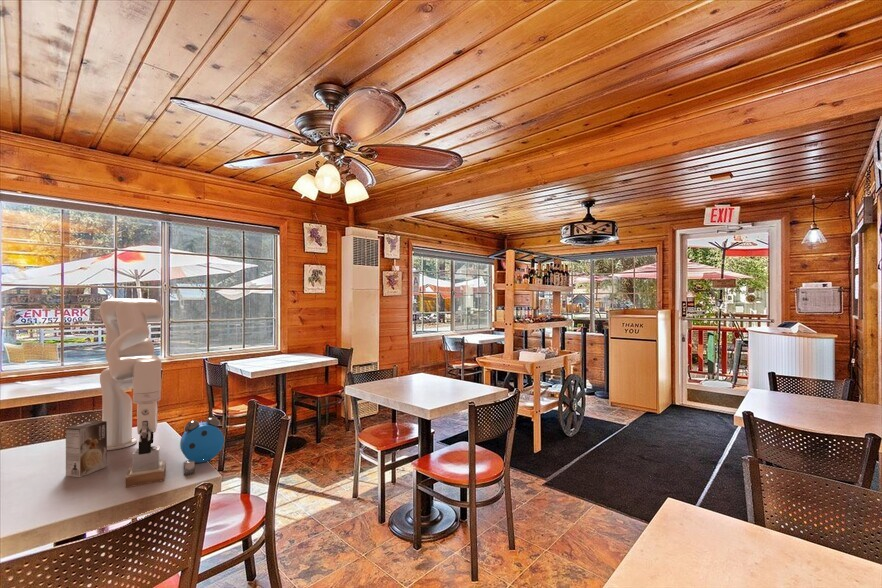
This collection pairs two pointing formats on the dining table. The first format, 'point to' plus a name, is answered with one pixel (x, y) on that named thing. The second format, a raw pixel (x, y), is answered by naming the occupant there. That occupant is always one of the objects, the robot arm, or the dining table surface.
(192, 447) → the alarm clock
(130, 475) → the picture frame
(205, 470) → the dining table surface
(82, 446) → the coffee box
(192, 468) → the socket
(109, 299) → the robot arm
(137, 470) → the housing
